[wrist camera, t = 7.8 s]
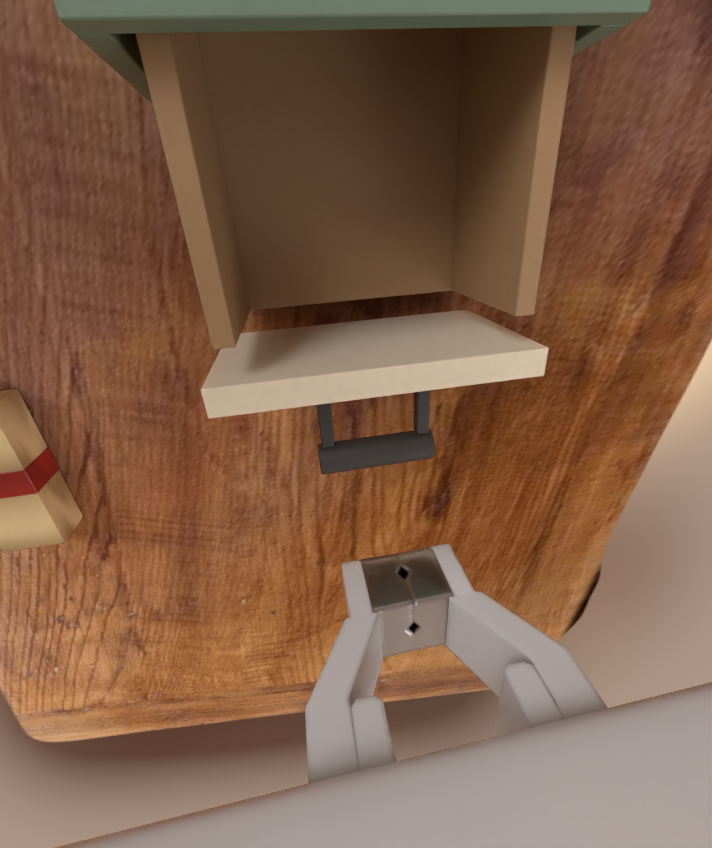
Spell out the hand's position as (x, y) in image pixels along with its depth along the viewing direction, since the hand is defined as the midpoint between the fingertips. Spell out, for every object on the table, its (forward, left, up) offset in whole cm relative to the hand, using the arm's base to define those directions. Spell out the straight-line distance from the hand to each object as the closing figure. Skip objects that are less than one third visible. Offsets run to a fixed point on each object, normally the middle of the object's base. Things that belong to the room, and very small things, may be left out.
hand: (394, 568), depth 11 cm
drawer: (+1, +8, -14) cm, 16 cm away
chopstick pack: (-19, -3, -15) cm, 24 cm away
